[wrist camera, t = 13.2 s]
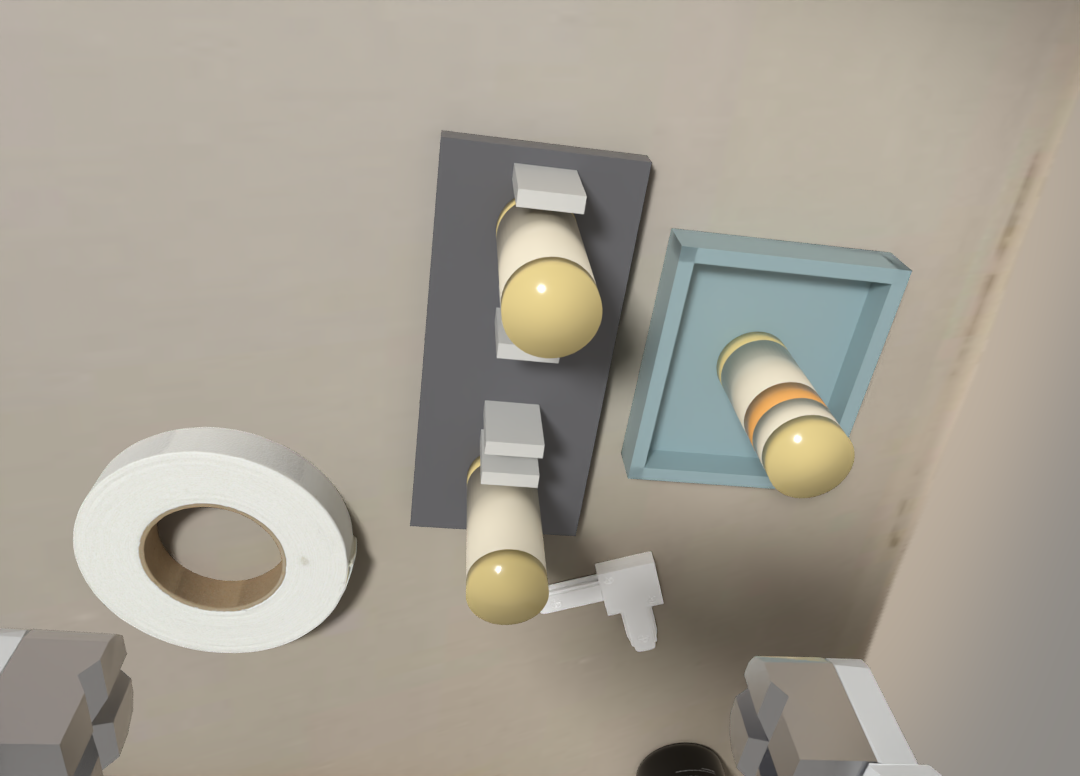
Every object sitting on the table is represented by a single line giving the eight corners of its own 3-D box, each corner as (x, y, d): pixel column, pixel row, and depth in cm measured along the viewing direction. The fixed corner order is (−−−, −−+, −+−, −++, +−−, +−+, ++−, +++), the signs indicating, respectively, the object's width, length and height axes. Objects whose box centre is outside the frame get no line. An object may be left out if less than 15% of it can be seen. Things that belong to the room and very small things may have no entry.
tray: (671, 228, 43) (682, 245, 41) (890, 252, 45) (912, 270, 43) (621, 453, 50) (627, 478, 48) (812, 467, 52) (827, 492, 50)
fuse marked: (726, 328, 46) (781, 423, 38) (796, 335, 46) (866, 430, 38) (708, 391, 48) (758, 495, 40) (776, 397, 48) (838, 500, 40)
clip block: (441, 130, 40) (438, 160, 35) (647, 155, 41) (668, 187, 37) (411, 513, 51) (405, 572, 47) (573, 523, 53) (583, 582, 48)
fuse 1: (470, 446, 48) (470, 561, 40) (540, 451, 48) (554, 565, 40) (463, 502, 50) (462, 622, 42) (531, 506, 50) (542, 626, 42)
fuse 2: (501, 186, 40) (508, 260, 32) (583, 196, 41) (610, 272, 33) (491, 264, 42) (495, 353, 34) (569, 273, 43) (592, 362, 35)
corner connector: (557, 654, 59) (559, 673, 58) (529, 572, 55) (531, 589, 54) (669, 630, 59) (673, 648, 57) (649, 545, 55) (654, 562, 53)
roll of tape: (144, 635, 55) (129, 670, 53) (49, 443, 47) (26, 473, 45) (379, 604, 55) (375, 637, 53) (322, 406, 48) (314, 435, 45)
